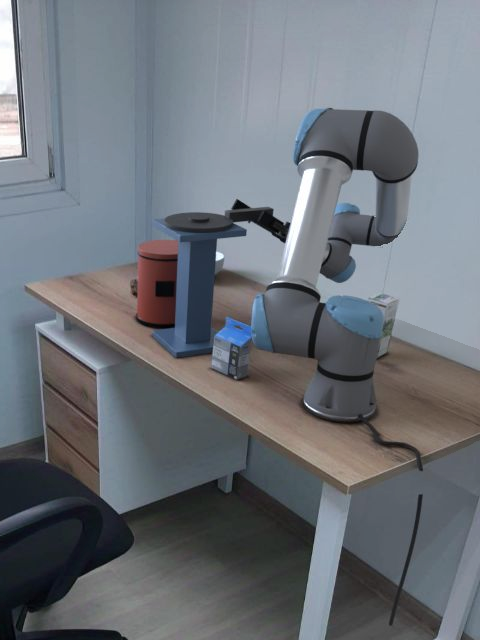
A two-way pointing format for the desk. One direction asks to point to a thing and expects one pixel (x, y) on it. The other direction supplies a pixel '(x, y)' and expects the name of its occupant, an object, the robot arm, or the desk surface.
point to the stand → (193, 291)
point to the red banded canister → (157, 283)
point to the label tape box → (232, 349)
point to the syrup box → (385, 318)
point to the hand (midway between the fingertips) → (247, 209)
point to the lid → (212, 220)
